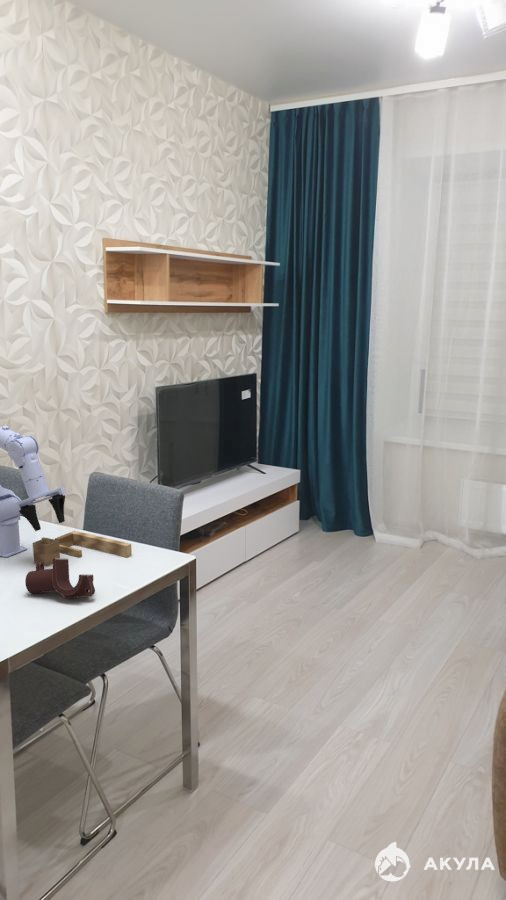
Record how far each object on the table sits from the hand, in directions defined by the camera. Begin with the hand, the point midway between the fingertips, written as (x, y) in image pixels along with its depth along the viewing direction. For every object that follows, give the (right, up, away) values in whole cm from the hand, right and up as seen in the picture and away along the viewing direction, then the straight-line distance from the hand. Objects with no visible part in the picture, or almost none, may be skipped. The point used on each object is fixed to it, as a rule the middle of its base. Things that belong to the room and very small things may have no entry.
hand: (50, 526), depth 198 cm
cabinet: (-2, -10, +3) cm, 11 cm away
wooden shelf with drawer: (+9, -9, +10) cm, 16 cm away
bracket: (+8, -15, -18) cm, 25 cm away
